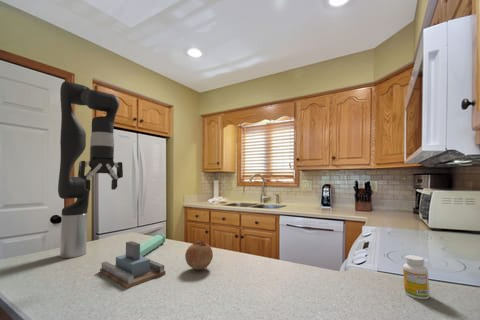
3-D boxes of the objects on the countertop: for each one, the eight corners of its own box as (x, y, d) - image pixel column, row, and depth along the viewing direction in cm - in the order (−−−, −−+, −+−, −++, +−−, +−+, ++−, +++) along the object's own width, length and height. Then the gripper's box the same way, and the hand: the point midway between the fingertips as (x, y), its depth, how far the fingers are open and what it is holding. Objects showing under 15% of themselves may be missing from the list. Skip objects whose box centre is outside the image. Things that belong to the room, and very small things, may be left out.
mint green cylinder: (136, 246, 94) (163, 230, 118) (122, 251, 94) (152, 235, 119) (141, 260, 93) (167, 242, 118) (128, 266, 93) (156, 246, 118)
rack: (99, 271, 84) (100, 263, 84) (136, 261, 93) (136, 253, 94) (126, 288, 71) (126, 277, 71) (165, 274, 81) (165, 264, 81)
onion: (217, 266, 87) (217, 238, 88) (205, 276, 78) (204, 245, 79) (194, 263, 90) (194, 236, 91) (179, 273, 81) (179, 243, 82)
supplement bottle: (410, 288, 68) (407, 253, 69) (433, 296, 63) (430, 258, 64) (400, 293, 65) (398, 256, 66) (424, 302, 60) (421, 262, 61)
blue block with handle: (115, 268, 84) (116, 242, 84) (132, 263, 88) (133, 238, 89) (132, 277, 76) (132, 248, 76) (149, 271, 80) (150, 244, 81)
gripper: (117, 148, 96) (116, 189, 95) (76, 145, 85) (74, 191, 84) (126, 146, 91) (125, 189, 90) (83, 142, 81) (82, 191, 79)
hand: (101, 190), depth 87 cm, fingers open, 8 cm apart
